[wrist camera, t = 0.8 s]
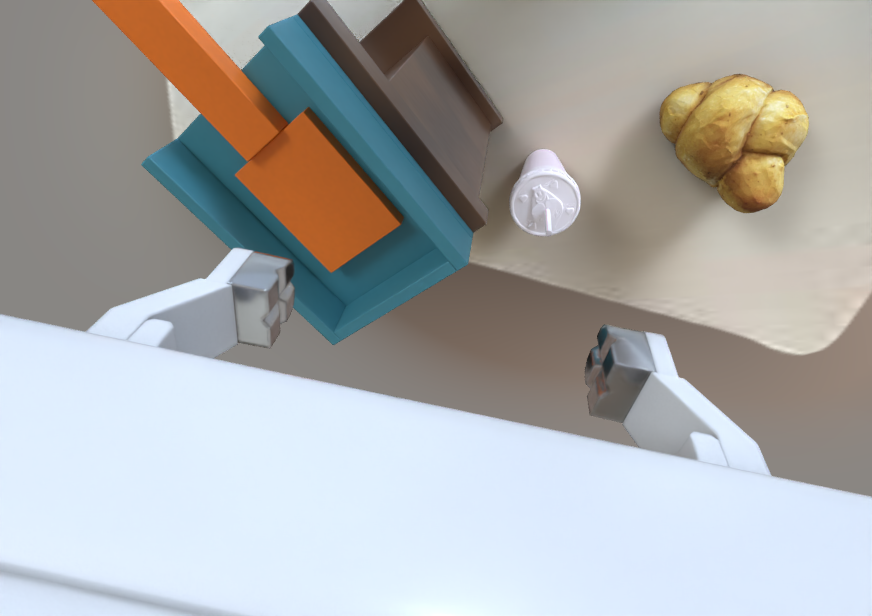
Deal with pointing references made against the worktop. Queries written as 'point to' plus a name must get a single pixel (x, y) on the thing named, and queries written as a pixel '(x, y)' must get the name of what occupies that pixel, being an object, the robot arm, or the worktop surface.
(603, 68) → the worktop surface
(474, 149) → the stand
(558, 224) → the smoothie
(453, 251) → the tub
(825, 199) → the worktop surface
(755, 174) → the bread roll
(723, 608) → the robot arm
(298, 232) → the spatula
